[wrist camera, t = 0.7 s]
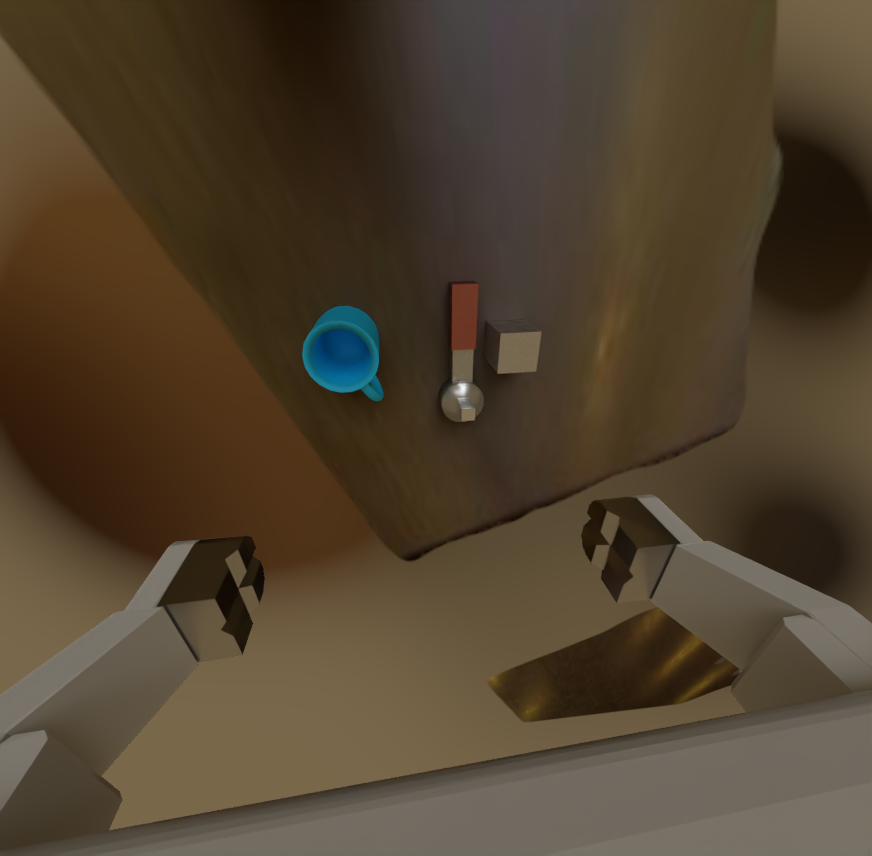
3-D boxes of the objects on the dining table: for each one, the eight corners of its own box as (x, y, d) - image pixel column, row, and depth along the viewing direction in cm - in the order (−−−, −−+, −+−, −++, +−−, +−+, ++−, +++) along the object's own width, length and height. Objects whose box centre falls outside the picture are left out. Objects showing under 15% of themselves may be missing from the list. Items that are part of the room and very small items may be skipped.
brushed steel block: (486, 320, 47) (500, 333, 41) (522, 319, 47) (541, 331, 41) (484, 357, 49) (497, 373, 43) (518, 355, 50) (536, 371, 44)
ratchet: (437, 282, 43) (446, 290, 38) (484, 280, 44) (499, 288, 38) (438, 414, 53) (445, 436, 47) (477, 411, 53) (489, 432, 48)
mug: (300, 327, 44) (285, 345, 37) (355, 292, 43) (350, 305, 36) (356, 400, 50) (352, 428, 43) (406, 372, 49) (410, 396, 42)
